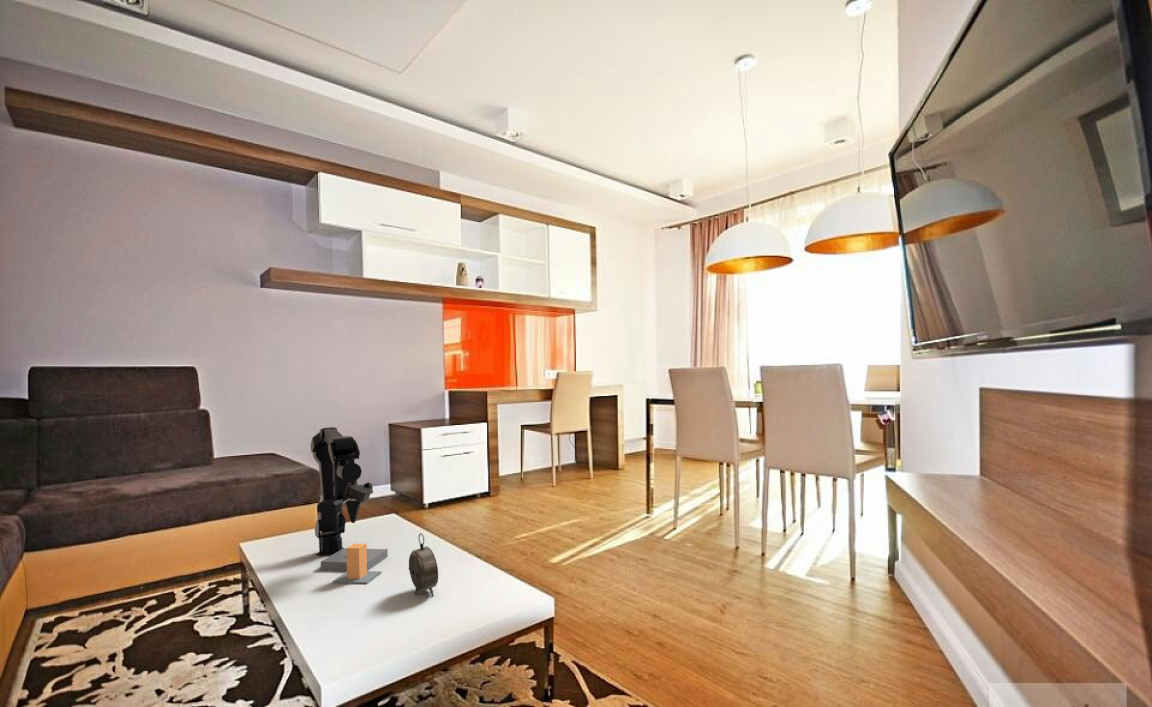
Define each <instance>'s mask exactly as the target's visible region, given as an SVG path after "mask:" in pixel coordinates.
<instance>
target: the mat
mask: <svg viewBox="0 0 1152 707" xmlns="http://www.w3.org/2000/svg"><path fill="white" fill-rule="evenodd" d="M381 574H382V571H379V570H378V571H376V570H368V571H367V574H366V575H365V576H363V577H362V578H361V579H347V571H345V572H344V573H342V574H341V575H339V576H338V577H336V578H335V579H333V580H332V584H348V585H349V584H351V585H352V584H353V585H354V584H355V585H368V584H369V583H370V582H372V581H373V580H374V579H376V578H377V577H378V576H380V575H381Z"/></svg>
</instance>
